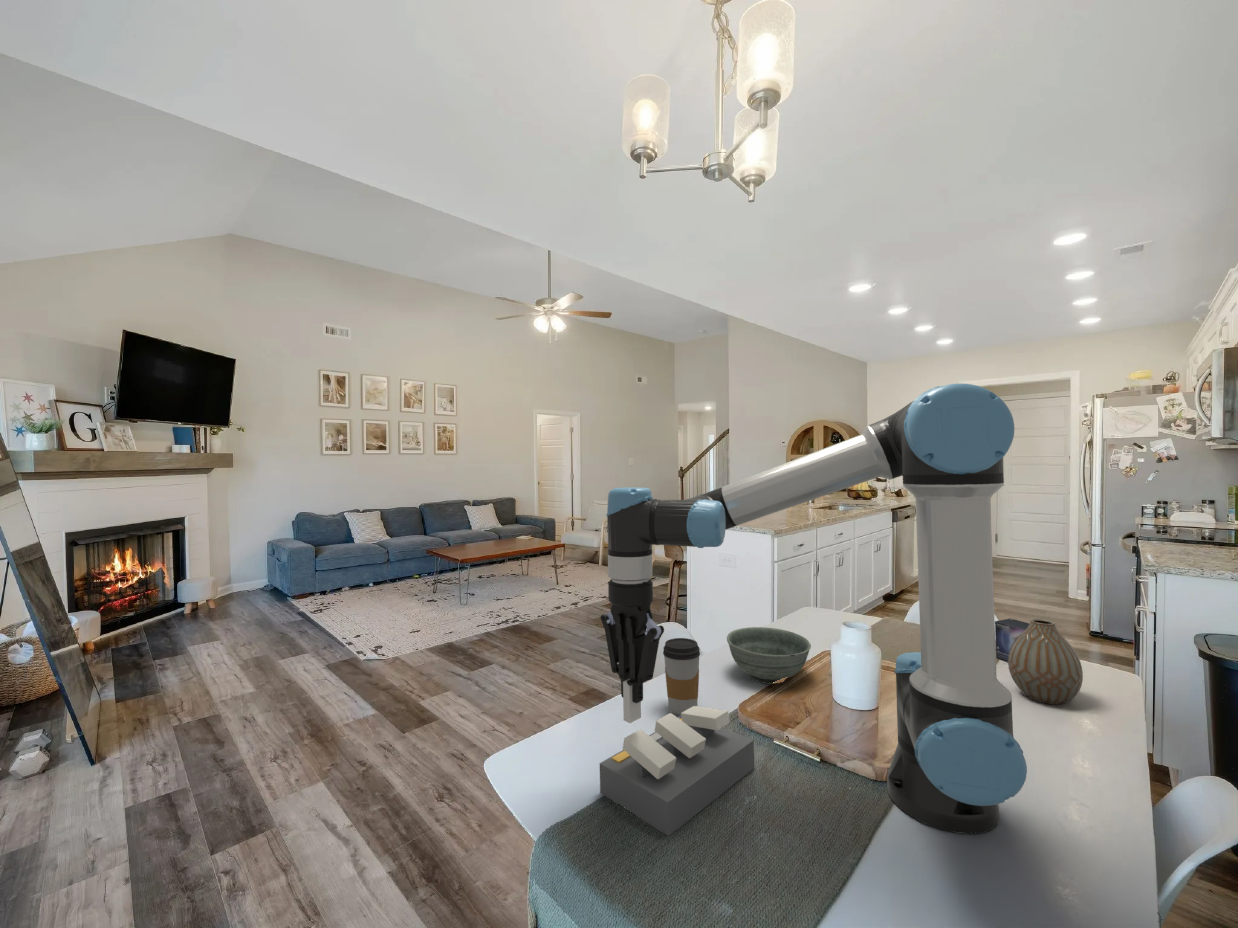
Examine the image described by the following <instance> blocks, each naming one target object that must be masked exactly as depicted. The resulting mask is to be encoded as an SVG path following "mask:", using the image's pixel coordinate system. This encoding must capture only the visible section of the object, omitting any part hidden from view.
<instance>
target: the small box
mask: <svg viewBox="0 0 1238 928" xmlns="http://www.w3.org/2000/svg"><path fill="white" fill-rule="evenodd" d="M1029 624H1030V622H1025V621H1020V620H1017V619H1014V618H1006V619H1000V620H995V648H996V660H997V659H999V660H1000V661H1004V662H1006V663H1008V656H1009V651H1010V648H1011V646H1012V644H1013V642H1014V641H1015V640H1016V638H1017V637H1018V636H1019V635H1020V634H1021V633H1022V632H1023V631H1024V630H1026V629H1027V627H1028V626H1029Z"/></svg>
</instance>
